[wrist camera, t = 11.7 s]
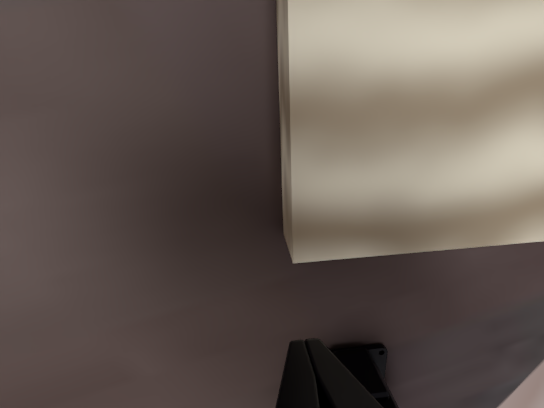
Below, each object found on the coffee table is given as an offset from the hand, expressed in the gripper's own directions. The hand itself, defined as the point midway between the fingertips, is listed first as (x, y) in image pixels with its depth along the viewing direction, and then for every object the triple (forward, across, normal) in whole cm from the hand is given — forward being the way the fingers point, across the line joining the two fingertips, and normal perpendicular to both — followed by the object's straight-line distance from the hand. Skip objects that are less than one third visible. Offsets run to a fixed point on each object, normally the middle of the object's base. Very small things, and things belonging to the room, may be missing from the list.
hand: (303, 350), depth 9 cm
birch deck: (+12, -9, -6) cm, 16 cm away
